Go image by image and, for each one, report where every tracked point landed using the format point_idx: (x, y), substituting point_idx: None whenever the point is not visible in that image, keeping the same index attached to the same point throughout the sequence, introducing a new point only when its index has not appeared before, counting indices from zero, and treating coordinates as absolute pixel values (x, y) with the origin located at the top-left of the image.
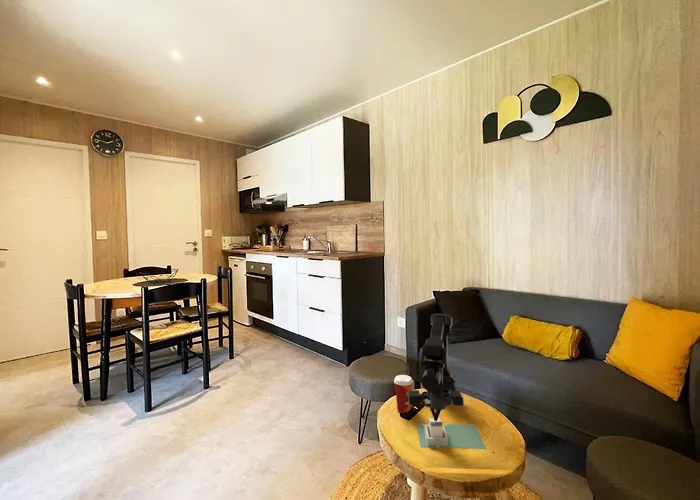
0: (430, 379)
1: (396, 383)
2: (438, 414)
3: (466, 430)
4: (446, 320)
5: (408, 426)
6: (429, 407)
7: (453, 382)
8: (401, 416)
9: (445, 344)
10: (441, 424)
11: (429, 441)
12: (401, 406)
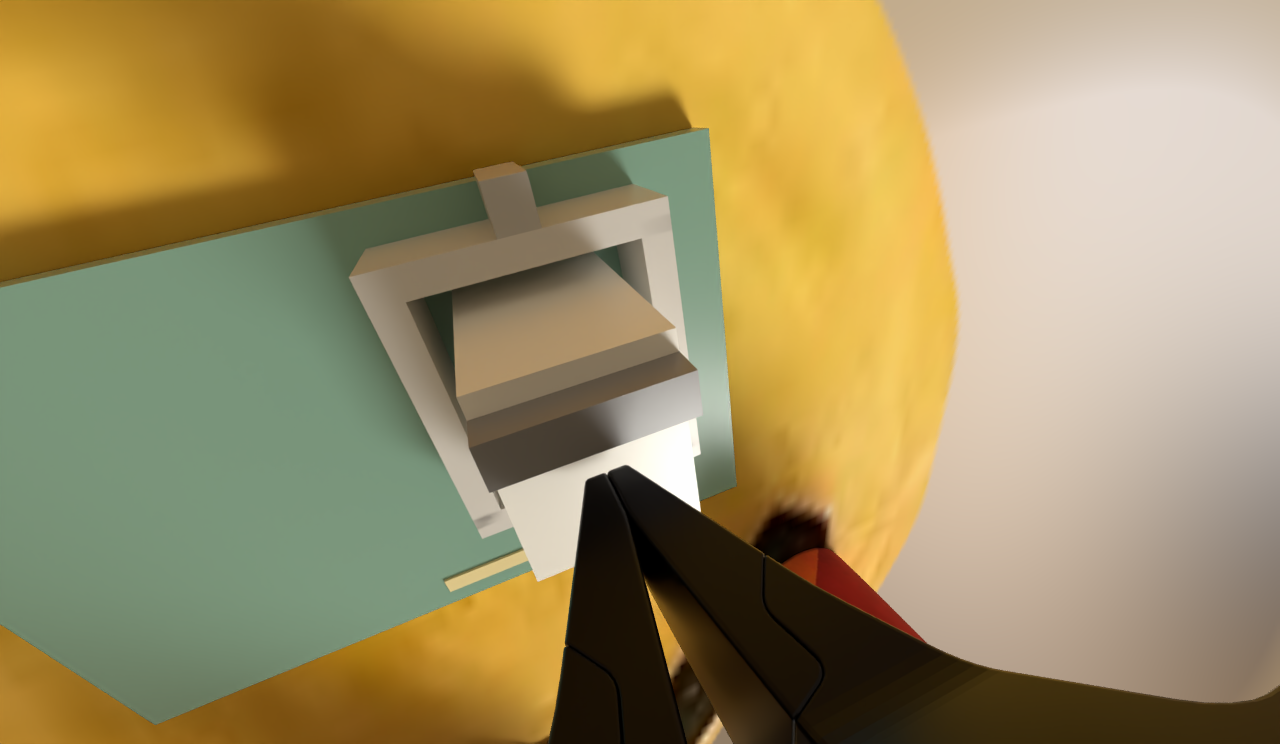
0: None
1: None
2: (591, 604)
3: (216, 606)
4: None
5: (784, 440)
6: (1116, 702)
7: None
8: (820, 520)
9: None
10: (483, 431)
11: (624, 198)
12: (857, 591)
